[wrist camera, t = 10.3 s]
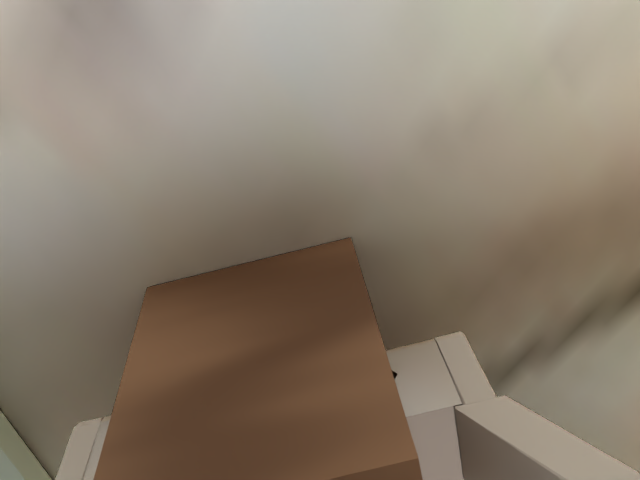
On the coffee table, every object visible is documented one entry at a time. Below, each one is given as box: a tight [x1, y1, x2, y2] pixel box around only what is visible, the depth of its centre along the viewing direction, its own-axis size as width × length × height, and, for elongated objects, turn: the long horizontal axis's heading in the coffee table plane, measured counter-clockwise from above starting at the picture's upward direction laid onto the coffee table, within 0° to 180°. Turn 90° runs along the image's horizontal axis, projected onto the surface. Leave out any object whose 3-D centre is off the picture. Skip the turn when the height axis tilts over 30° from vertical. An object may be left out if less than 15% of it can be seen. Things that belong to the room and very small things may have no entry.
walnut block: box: [93, 238, 423, 480], centre depth 10 cm, size 4×4×5 cm
